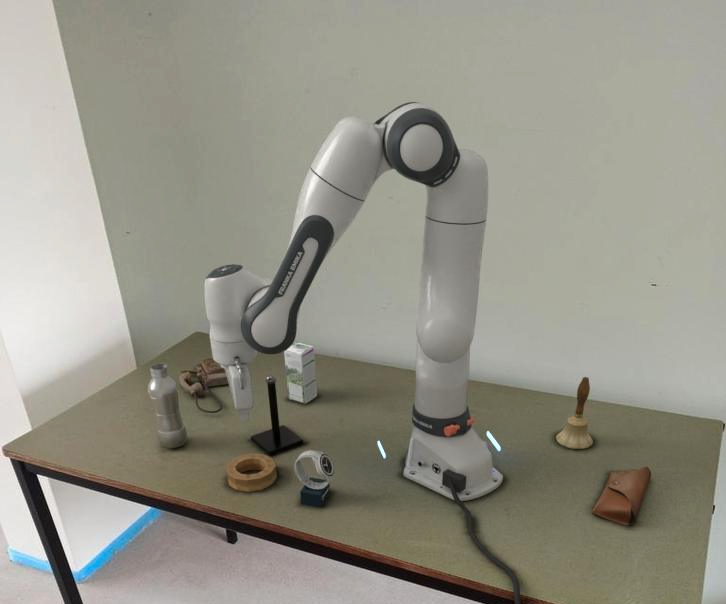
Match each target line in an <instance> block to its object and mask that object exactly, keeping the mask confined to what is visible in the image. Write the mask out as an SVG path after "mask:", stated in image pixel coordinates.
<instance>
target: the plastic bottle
mask: <svg viewBox="0 0 726 604" xmlns="http://www.w3.org/2000/svg"><path fill="white" fill-rule="evenodd" d="M149 370H150V376H151V377H152V378H151V380H150V381H149V383H148V385H147V392H148V393H147V394H148V395H149V398H150V401H151V403H152V406H153V410H154V413H155V418H156V425H157V427H156V428H157V429H156V433H157V439H158V442H159V444H160V445H162V446H163V447H164V448H166V449H175V448H179V447H182V446H184V445H185V444H186V442H187V440H188V433H187V429H186V426H185V425H184V422H183V418H182V415H181V411H180V404H179V387H178V384H177V382H176V381H175V380H174V379H173V378H172V377H171V376H170V375H169V374H170V371H169V369H168V364H166V363H160V362H159V363H154V364H152V365H150V367H149Z"/></svg>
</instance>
